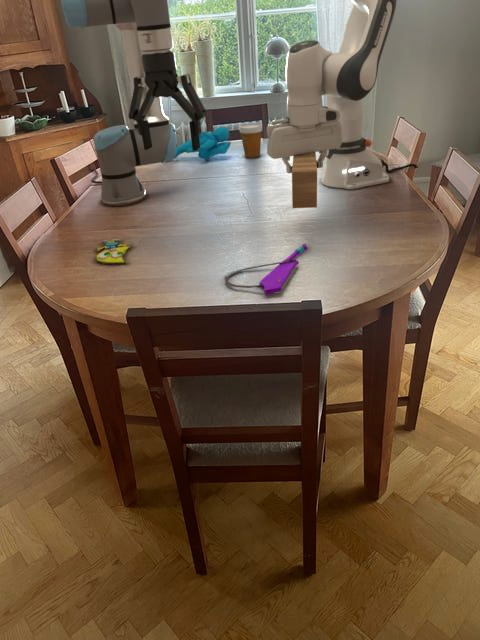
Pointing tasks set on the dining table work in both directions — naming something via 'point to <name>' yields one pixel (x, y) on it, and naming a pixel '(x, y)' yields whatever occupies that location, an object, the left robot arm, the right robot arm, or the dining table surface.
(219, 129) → the toy
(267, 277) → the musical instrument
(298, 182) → the bar
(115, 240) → the toy
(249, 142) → the glass of beer
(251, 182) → the dining table surface
